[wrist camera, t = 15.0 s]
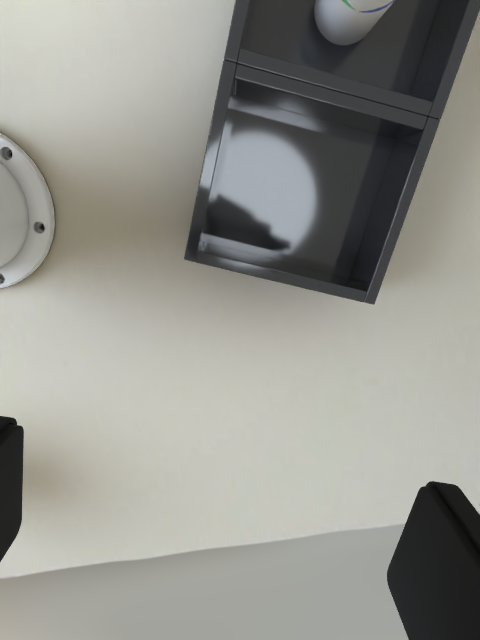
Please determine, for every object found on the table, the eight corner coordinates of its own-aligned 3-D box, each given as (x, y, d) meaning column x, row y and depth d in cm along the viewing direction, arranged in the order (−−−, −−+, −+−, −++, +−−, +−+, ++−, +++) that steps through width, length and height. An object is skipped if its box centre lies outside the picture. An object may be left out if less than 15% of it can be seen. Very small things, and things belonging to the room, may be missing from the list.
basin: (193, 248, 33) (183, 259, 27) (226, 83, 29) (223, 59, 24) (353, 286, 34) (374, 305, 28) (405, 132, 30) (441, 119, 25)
